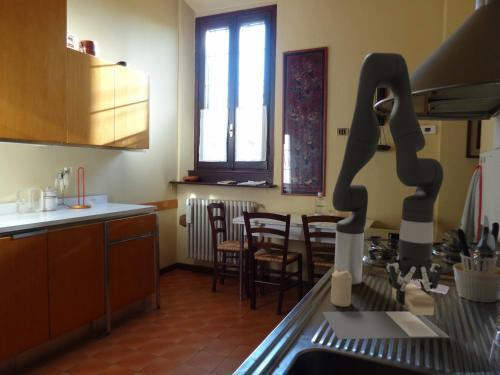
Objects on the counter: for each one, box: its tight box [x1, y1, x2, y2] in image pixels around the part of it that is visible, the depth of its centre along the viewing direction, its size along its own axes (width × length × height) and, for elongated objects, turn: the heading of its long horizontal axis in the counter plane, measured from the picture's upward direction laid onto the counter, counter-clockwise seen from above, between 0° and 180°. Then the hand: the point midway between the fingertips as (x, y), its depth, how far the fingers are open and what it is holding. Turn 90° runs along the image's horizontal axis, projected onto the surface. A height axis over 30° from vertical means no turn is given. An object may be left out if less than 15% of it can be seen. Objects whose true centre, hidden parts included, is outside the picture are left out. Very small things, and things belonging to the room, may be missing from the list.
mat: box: [321, 310, 451, 340], centre depth 89 cm, size 14×27×1 cm, turn 94°
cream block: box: [391, 282, 436, 316], centre depth 89 cm, size 11×5×4 cm, turn 4°
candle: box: [330, 269, 352, 307], centre depth 101 cm, size 6×6×10 cm
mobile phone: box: [410, 279, 450, 295], centre depth 118 cm, size 8×1×15 cm
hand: (411, 303), depth 89 cm, fingers closed on cream block, 5 cm apart
